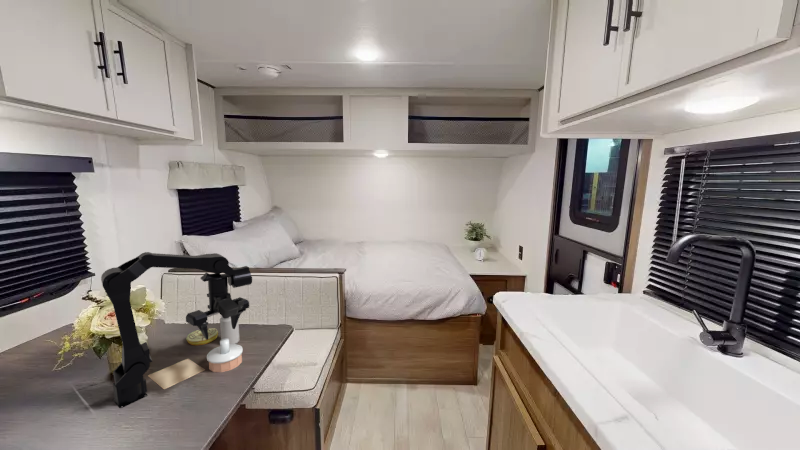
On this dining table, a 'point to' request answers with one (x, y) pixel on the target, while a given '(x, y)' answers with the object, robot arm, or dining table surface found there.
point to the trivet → (175, 373)
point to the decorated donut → (202, 337)
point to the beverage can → (229, 330)
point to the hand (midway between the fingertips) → (220, 333)
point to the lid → (224, 352)
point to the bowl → (225, 365)
